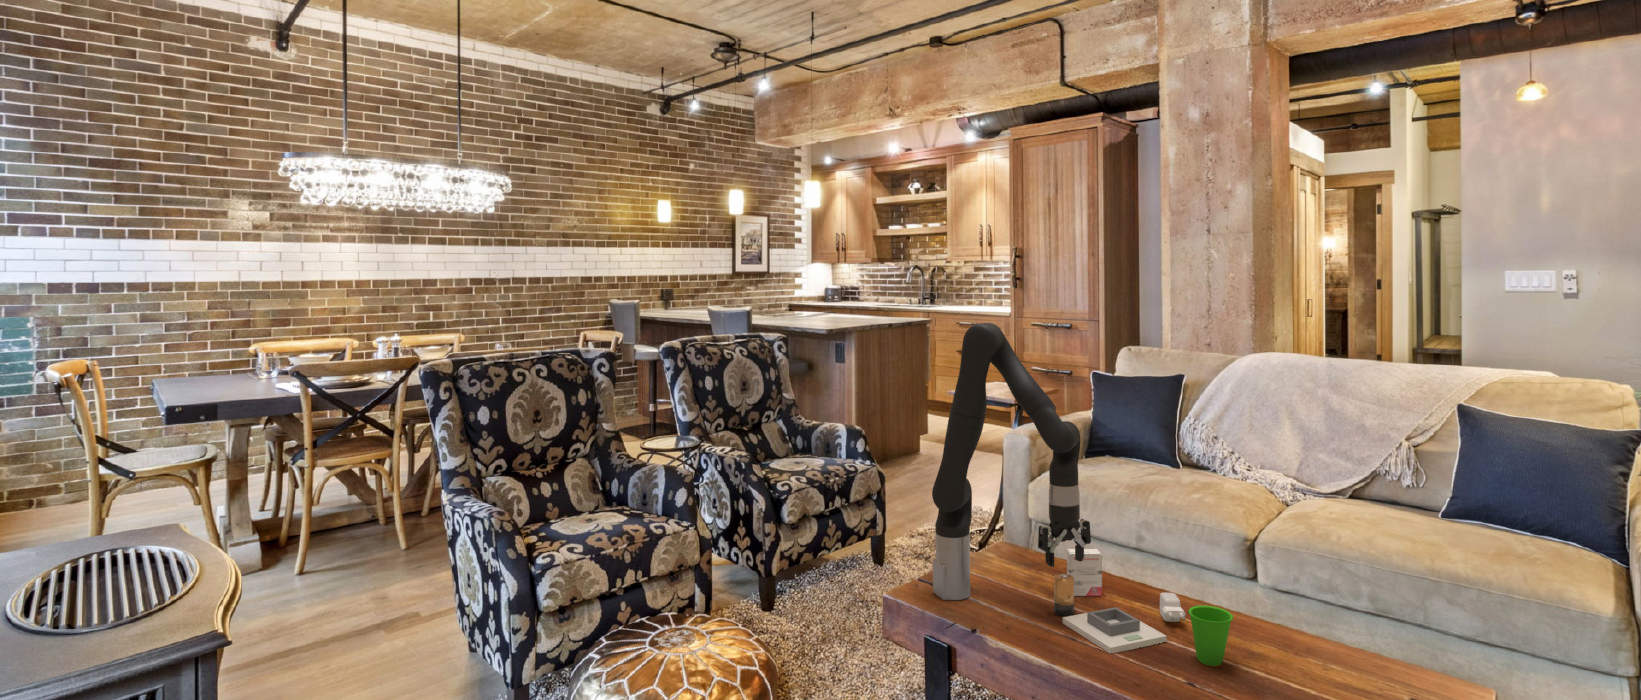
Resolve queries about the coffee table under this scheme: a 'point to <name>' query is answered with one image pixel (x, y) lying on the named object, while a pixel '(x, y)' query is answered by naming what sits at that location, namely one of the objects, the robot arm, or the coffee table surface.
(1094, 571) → the ink box
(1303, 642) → the coffee table surface
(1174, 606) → the power adapter
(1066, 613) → the battery cell
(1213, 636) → the cup
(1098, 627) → the board
